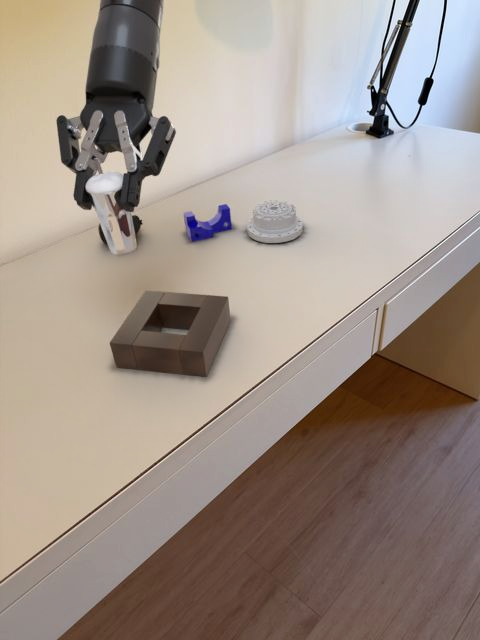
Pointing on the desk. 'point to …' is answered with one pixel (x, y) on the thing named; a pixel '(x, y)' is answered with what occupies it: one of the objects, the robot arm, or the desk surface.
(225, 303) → the socket block
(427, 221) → the desk surface
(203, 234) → the cable holder
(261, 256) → the desk surface
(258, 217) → the mechanical component
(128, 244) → the milkshake
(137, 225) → the tape measure
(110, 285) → the desk surface
